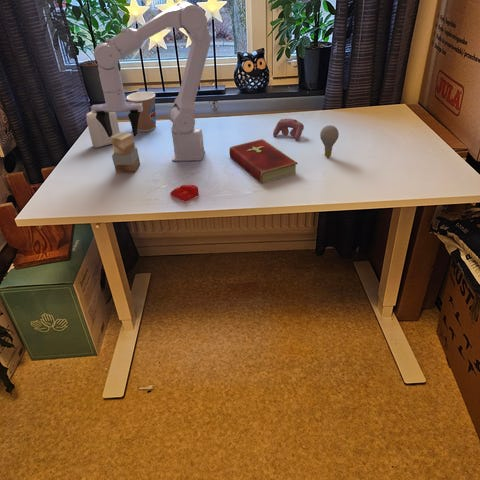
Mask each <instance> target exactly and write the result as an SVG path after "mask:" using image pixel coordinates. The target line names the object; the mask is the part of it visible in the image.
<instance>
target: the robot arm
mask: <svg viewBox="0 0 480 480" xmlns="http://www.w3.org/2000/svg"><path fill="white" fill-rule="evenodd" d="M167 28H175V29H182V28H183V30H184V31H185V33H186V35H188V38H189V39H190V41H191V44H190V47H189V51H188V55H187V58H186V64H185V68H184V72H183V75H182V79H181V82H180V87H179V91H178V95H177V96H176V98H174V101H173V104H172V105H171V107H170V109H169V110H168V118H169V120H170V121H171V122H172V126H171V137H172V144H173V150H174V151H173V152H174V153H173V156H172V159H171V161H172V162H178V161H179V162H180V161H181V162H182V161H184V162H185V161H202V160H203V156H204V153H205V146H204V136H203V130H202V129H201V128H196V127H195V125H196V120H195V119H196V118H195V113H196V105H195V101H196V97H197V95H198V91H199V85H200V82H201V79H202V75H203V72H204V68H205V64H206V60H207V57H208V54H209V50H210V45H211V41H212V39H211V36H210V31H209V27H208V18H207V16H206V14H205V13H204V11H203V10H202V8H200V6H198V5H196V4H192V3H191V2H189V1H185V0H183V1H180V2H178V3H177V4H174V5H171V6H170V7H168V8H167V9H165V10H163V11H161V12H160V13H159V14H157V15H156V16H154V17H152V18H151V19H150V20H148V21H147V22H145V23H144V24H142V25H141V26H140V27H137V28H133V27H127V28H125V27H123V28H121V29H120V33H118V34H116V35H114V36H112V37H111V38H109V37H107V38H106V39H105V42H100V43H98V44H97V45H96V46H95V48H94V50H93V53H94V54H93V58H94V59H95V61H96V62H97V70H98V73H99V74H98V75H99V81H100V84H101V85H100V86H101V88H102V92H103V97H104V98H103V99H104V101H105V103H100V104H99V103H98V104H92V106H91V107H90V109H91V111H92V113H97V114H96V119H97V120H98V121H99V122H100V123H101V124H102V126H103V127H104V129H105V131H106V132H107V135H108V137H111V136H112V135H113V133H112V128H111V124H110V118H109V112H115V113H122V112H123V113H124V112H129V113H128V115H127V116H128V119H129V121H130V122H129V123H130V126H131V130H132V135H133V137H137V135H138V129H137V127H138V119H139V115H140V112H142V111H143V106H142V103H130V102H128V101H127V98H126V95H125V94H126V93H125V91H124V90H125V89H124V85H123V80H122V74H121V71H120V70H119V65H118V64H119V60H121V61H122V60H123V59H125V58H128V57H129V56H130V55H132V54H133V53H136V52H137V51H138V50H141V49H142V45H143V42H144V41H146V40H147V39H149V38H151V37H153V36H155V35H157V34H159V33H160V32H162V31H164V30H166V29H167Z"/></svg>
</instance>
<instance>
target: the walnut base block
mask: <svg viewBox="0 0 480 480" xmlns="http://www.w3.org/2000/svg"><path fill="white" fill-rule="evenodd" d="M140 166H141V160H140V157H138V158H137V160H136V161H135V163H134V164H133V165H114V169H115V173H116V174H135V172H136V173H137V172H138V169H139V167H140Z"/></svg>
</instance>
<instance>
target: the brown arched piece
mask: <svg viewBox="0 0 480 480" xmlns="http://www.w3.org/2000/svg"><path fill="white" fill-rule="evenodd" d="M289 128H290V129H291V130H289ZM304 129H305V126H304V123H302V122H300V121H299V120H297V119H294V118H281V119H280V120H279V121H277V123H276V125H275V127H274V129H273V134H272V136H273V137H274V136H276V137H277V136H278V135H279V134H280V132H281V134H282V136H283V135H284V136H288V135H290V137H292V136H293V138H294V140H295V141H296V142H297V141H299V140H300V138H301V136H302V133H303V131H304ZM289 131H290V132H289ZM294 136H295V137H294Z"/></svg>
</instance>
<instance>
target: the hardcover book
mask: <svg viewBox="0 0 480 480" xmlns="http://www.w3.org/2000/svg"><path fill="white" fill-rule="evenodd" d="M228 151H229V157H230V159H232V160H233V161H234V162H235V163H237V165H239V167H241V168H242V169H243V170H245V172H247V173H248V174H249V175H251V176H252V177H253V178H254V179H255V180H257V181H258V182H259V183H260V184H264V183H267V182H271V181H274V180H277V179H281V178H286V177H288V176H292V175H295V174H296V172H297V171H296V170H297V169H296V167H297V165H298V164H299V163H298V162H297V161H296V160H294V159H292V158H291V157H290V156H288V155H287V154H285V153H284V152H283V151H281V150H279V149H278V148H276V146H274V145H273V144H271V143H269V142H268V141H266V140H265V139H263V138H260V139H257V140H252V141H249V142H244V143H241V144H237V145H232V146H230V147H229V150H228Z"/></svg>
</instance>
